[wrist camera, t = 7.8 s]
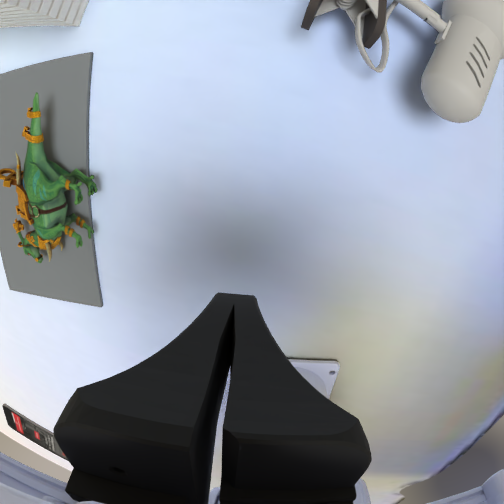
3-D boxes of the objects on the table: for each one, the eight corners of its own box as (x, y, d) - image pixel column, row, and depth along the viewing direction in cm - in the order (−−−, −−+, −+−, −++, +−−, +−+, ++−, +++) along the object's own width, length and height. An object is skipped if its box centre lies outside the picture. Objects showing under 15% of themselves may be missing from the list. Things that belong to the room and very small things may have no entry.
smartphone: (1, 403, 31) (92, 455, 33) (3, 400, 31) (94, 451, 33) (8, 426, 33) (90, 471, 35) (10, 423, 34) (91, 468, 36)
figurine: (98, 267, 21) (17, 241, 21) (110, 94, 16) (17, 90, 16) (77, 291, 19) (-6, 259, 18) (83, 96, 13) (-13, 94, 13)
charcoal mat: (103, 305, 23) (101, 307, 22) (11, 287, 23) (9, 289, 22) (93, 52, 15) (90, 52, 15) (-9, 78, 15) (-12, 78, 15)
